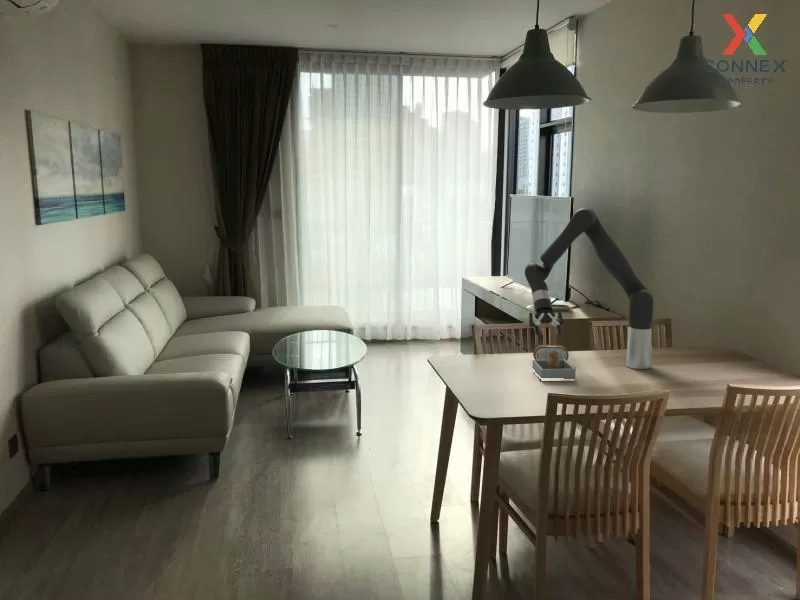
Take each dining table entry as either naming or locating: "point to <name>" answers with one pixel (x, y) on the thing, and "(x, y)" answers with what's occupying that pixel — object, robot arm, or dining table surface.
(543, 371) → the bin
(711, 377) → the dining table surface
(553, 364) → the pepper mill
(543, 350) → the tin
